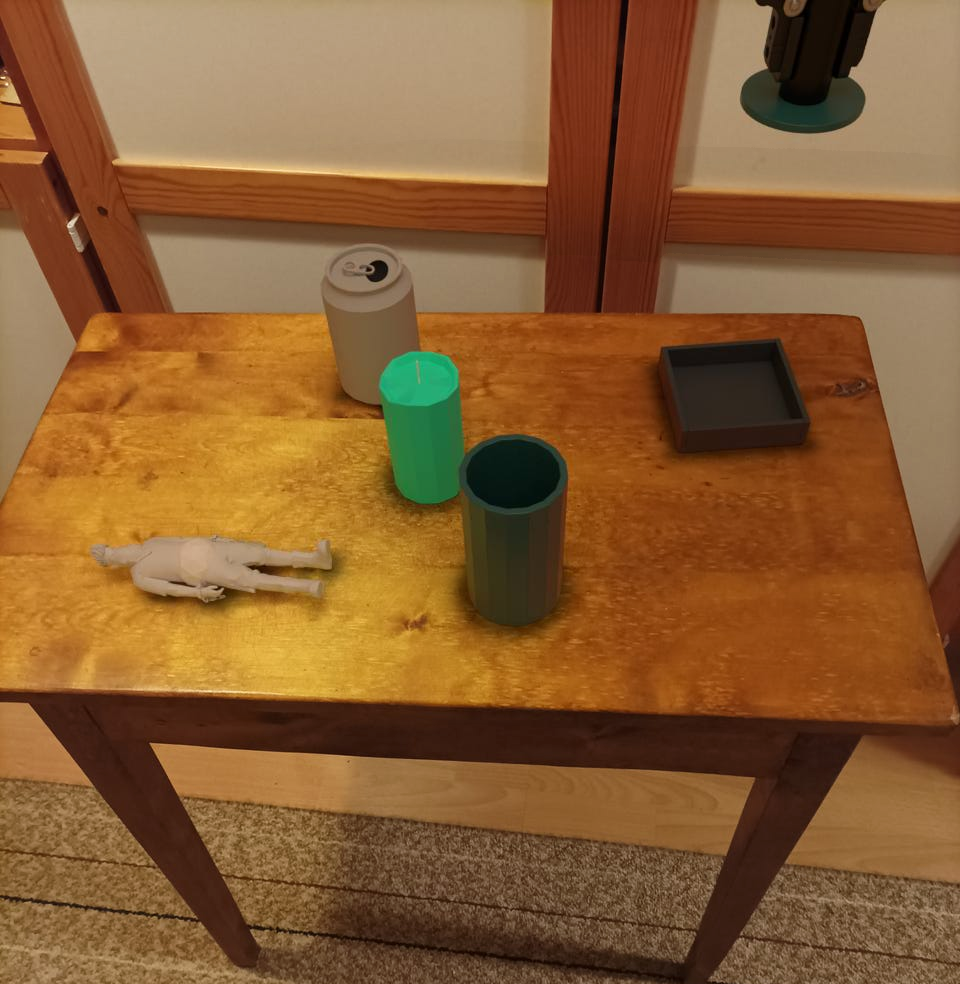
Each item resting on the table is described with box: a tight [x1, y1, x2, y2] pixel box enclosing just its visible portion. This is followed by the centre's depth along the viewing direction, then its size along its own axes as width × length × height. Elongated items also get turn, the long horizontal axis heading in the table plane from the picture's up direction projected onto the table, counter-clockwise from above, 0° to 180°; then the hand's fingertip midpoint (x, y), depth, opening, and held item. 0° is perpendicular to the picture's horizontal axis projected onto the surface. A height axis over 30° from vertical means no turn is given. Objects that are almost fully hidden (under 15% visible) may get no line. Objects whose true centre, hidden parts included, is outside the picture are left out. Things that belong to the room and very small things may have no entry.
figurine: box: [88, 534, 333, 603], centre depth 69 cm, size 7×4×18 cm
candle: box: [379, 351, 466, 505], centre depth 70 cm, size 6×6×12 cm
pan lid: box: [739, 0, 867, 135], centre depth 55 cm, size 8×8×7 cm
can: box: [320, 242, 422, 406], centre depth 77 cm, size 8×8×12 cm
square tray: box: [657, 337, 812, 454], centre depth 78 cm, size 10×10×2 cm
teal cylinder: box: [459, 433, 569, 627], centre depth 64 cm, size 7×7×12 cm
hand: (808, 73), depth 56 cm, fingers closed on pan lid, 3 cm apart
